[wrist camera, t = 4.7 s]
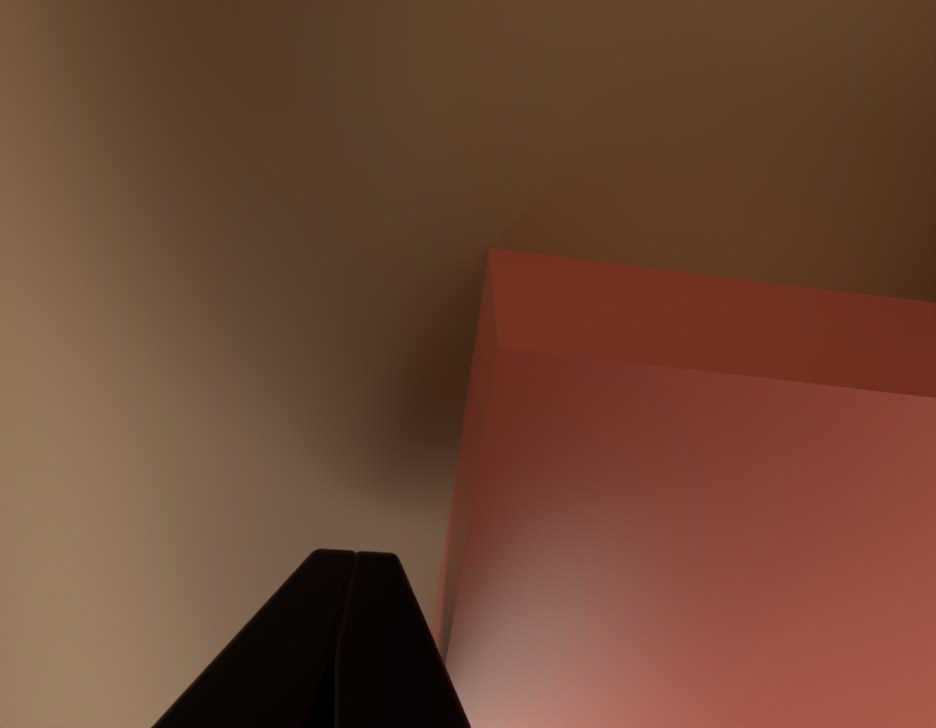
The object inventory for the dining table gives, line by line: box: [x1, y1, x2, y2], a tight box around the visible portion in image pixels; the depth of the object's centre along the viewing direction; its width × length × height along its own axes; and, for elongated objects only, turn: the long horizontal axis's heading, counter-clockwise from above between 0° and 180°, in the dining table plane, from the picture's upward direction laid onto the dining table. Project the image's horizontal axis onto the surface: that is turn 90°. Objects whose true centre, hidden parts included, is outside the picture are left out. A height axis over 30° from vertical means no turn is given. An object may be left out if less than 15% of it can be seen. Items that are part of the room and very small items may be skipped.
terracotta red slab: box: [431, 247, 936, 728], centre depth 8 cm, size 9×6×2 cm, turn 82°
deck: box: [0, 0, 936, 728], centre depth 10 cm, size 16×14×4 cm
